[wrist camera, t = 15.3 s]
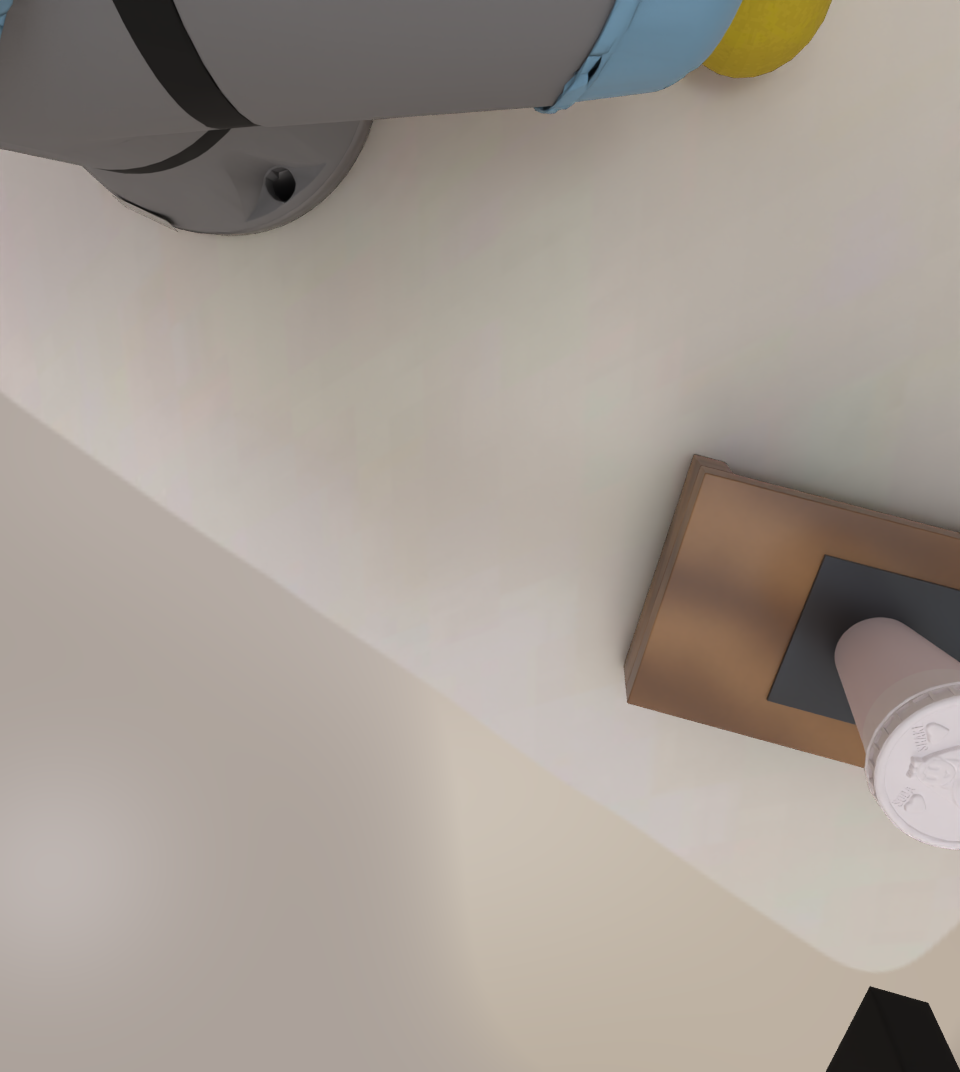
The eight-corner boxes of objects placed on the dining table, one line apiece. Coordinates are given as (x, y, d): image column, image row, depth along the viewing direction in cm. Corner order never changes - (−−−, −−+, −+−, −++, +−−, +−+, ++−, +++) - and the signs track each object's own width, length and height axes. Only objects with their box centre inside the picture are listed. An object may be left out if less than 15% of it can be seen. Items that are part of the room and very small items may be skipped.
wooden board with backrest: (694, 453, 40) (736, 524, 29) (1084, 555, 39) (1286, 669, 28) (623, 666, 44) (636, 802, 33) (978, 763, 43) (1117, 937, 32)
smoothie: (932, 724, 38) (1114, 960, 25) (791, 707, 39) (897, 929, 26) (967, 597, 37) (1185, 781, 23) (818, 581, 37) (949, 752, 24)
